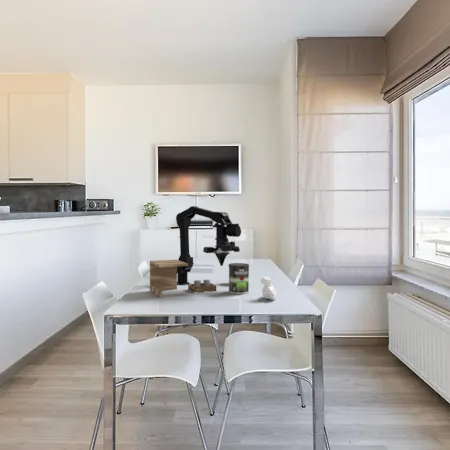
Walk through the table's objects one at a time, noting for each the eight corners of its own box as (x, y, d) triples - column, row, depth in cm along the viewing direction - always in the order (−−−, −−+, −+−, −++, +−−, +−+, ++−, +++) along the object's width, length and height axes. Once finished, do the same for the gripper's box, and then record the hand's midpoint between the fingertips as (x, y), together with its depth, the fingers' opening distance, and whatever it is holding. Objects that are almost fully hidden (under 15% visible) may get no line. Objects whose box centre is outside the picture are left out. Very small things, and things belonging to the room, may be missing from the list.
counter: (149, 291, 200) (149, 260, 199) (176, 288, 206) (176, 259, 205) (159, 298, 183) (159, 265, 183) (188, 295, 189) (188, 263, 189)
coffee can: (251, 293, 194) (251, 265, 194) (231, 294, 192) (231, 266, 191) (245, 289, 204) (245, 262, 204) (226, 290, 202) (226, 263, 201)
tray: (188, 289, 204) (188, 279, 204) (209, 287, 209) (209, 278, 209) (194, 292, 196) (194, 282, 196) (216, 290, 201) (216, 281, 201)
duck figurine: (267, 300, 189) (253, 281, 189) (280, 290, 189) (266, 272, 189) (269, 306, 177) (254, 286, 177) (282, 296, 177) (267, 276, 177)
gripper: (211, 237, 195) (211, 268, 195) (244, 236, 203) (244, 266, 203) (202, 236, 205) (202, 266, 205) (234, 235, 213) (234, 264, 213)
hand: (221, 265), depth 207 cm, fingers closed
